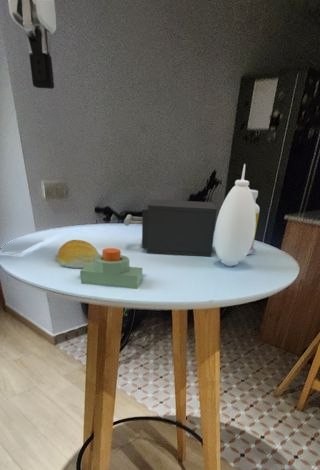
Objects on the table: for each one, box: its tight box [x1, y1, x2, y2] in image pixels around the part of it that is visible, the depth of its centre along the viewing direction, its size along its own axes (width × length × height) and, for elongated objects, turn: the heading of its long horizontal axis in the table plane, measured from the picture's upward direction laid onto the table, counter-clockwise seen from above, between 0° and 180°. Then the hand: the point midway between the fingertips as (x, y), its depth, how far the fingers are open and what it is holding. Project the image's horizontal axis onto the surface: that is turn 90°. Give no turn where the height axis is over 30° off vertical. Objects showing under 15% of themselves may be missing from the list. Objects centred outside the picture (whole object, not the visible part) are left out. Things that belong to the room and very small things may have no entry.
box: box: [79, 254, 144, 289], centre depth 64 cm, size 10×6×4 cm, turn 82°
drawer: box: [123, 203, 149, 249], centre depth 84 cm, size 18×9×8 cm, turn 89°
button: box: [102, 247, 121, 261], centre depth 63 cm, size 3×3×2 cm
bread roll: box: [56, 239, 100, 269], centre depth 73 cm, size 8×9×4 cm
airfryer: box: [146, 198, 218, 258], centre depth 84 cm, size 15×10×10 cm
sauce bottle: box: [213, 163, 256, 267], centre depth 72 cm, size 8×8×18 cm
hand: (43, 87), depth 62 cm, fingers closed
